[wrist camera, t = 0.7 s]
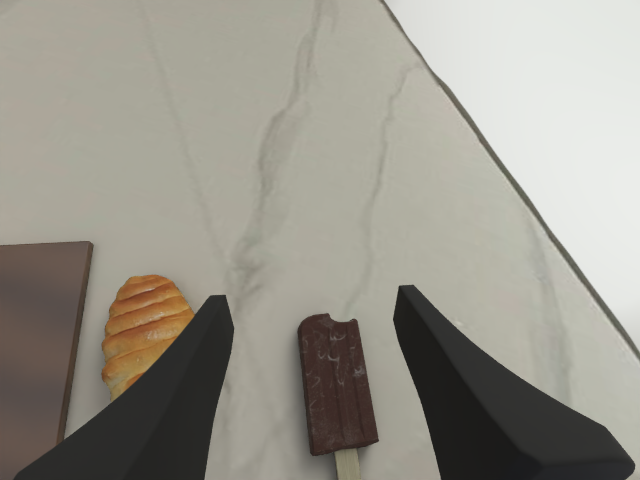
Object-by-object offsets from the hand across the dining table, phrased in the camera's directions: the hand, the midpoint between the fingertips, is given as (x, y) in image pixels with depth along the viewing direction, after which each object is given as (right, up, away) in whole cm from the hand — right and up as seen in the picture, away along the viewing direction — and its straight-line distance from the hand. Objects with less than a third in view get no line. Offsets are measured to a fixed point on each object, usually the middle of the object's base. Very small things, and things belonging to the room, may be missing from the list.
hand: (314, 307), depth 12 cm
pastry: (-13, -6, +12) cm, 18 cm away
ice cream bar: (+2, -11, +12) cm, 17 cm away
